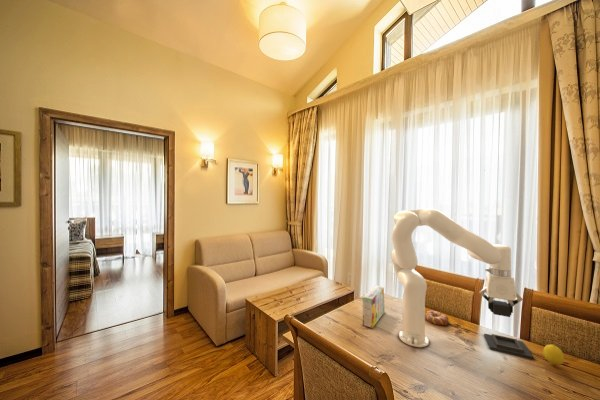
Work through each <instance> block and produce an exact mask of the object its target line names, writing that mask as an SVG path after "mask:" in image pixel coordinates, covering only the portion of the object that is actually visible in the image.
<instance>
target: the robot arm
mask: <svg viewBox="0 0 600 400" xmlns="http://www.w3.org/2000/svg"><path fill="white" fill-rule="evenodd" d="M393 222H394V226H393V228H392V232H391V241H392V245H393V249H392V252H391V262H392V264H393V268H394V272H395V275H396V278H397V280H398V282H399V283H400V284H401V285H402V286H403V292H402V297H401V298H402V299H401V301H402V303H401V305H402V319H401V320H402V321H401V323H402V328H401V329H402V330H400V331H399V333H398V337H399V339H400V340H401V342H403V343H404V344H406V345H408V346H410V347H415V348H426V347H428V346H429V344H430V340H429V338H428V337H427V336H426V318H425V313H426V295H427V290H428V286H427V285H428V284H427V281H426V279H425V277H424V276H423V275H422V274H421V273H419V272H418V271H417V270H416V268H417V266H418V262H419V261H418V257H417V255H416V254H417V253H416V250H415V247H414V242H413V238H412V237H413V234H414V233H413V232H414V231H415V230H416V228H418V227H421V226H426V227H429V228H430V229H432V230H433V231H435V232H437V234H439V235H440V236H442V237H443V238H445V239H446V240H447V241H449V242H450V243H453V244H454V245H456V246H459V247H461V248H463V249H466V250H467V254H468V255H469V257H471V258H472V259H474V260H477V261H480V262H483V263H485V264H488V267H485V272H487V274H486V277H485V278H486V279H485V287H483V288H482V289H481V290H480V291H478V293H479V295H480V296H481V297H483V298H484V299H485V300H486V301H487V309H488V310H489V311H490V312H491V313H493V303H492V301H493V300H495V299H496V300H497V299H499V300H504V301H507V304H508V305H509V306H510V316H512V314H513V313H514V306H516V305H517V304H519V303H520V302H522V301H523V298H522V296H520V295H519V294H518V293H517V289H516V288H517V287H516V281H515V277H513V276H512V249H511V247H510V246H509V245H506V244H499V243H496V244H495V243H494V244H493V243H490V242H489V241H488V240H486V239H484V238H482V237H481V236H479V235H478V234H476V233H474V232H472V231H471V230H469V229H467V228H466V227H464V226H462V225H461V224H459V223H457V222H456V221H455V220H454V219H452V218H450V217H449V216H447V214H445V213H444V212H442V211H441V210H438V209H436V208H418V209H409V210H407V209H406V210H400V211H398V212H397V213H395V214H394V216H393ZM485 293H486V294H485Z"/></svg>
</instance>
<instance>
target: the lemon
mask: <svg viewBox="0 0 600 400" xmlns="http://www.w3.org/2000/svg"><path fill="white" fill-rule="evenodd" d="M542 352H543V357H544V358H545V360H546V361H547V362H549V363H550V364H551V365H552V366H561V365H562V364H563V363H564V362H565V355H564V353H563V351H562V349H560V347H558V346H557V345H555V344H546V345H545V346H544V348H543V350H542Z"/></svg>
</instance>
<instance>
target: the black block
mask: <svg viewBox="0 0 600 400" xmlns="http://www.w3.org/2000/svg"><path fill="white" fill-rule="evenodd" d="M492 303H493V312H492V314H493V315H495V316H502V317H508V318H511V315H510V306H509V305H508V301H501V300H497V299H496V300H495V299H493V301H492Z"/></svg>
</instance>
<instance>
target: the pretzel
mask: <svg viewBox="0 0 600 400" xmlns="http://www.w3.org/2000/svg"><path fill="white" fill-rule="evenodd" d="M425 320H426V321H428V322H429V323H430V324H434V325H437V326H447V325H449V317H448V316H447V315H446V314H442V313H441V312H439V311H435V310H427V311H425Z"/></svg>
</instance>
